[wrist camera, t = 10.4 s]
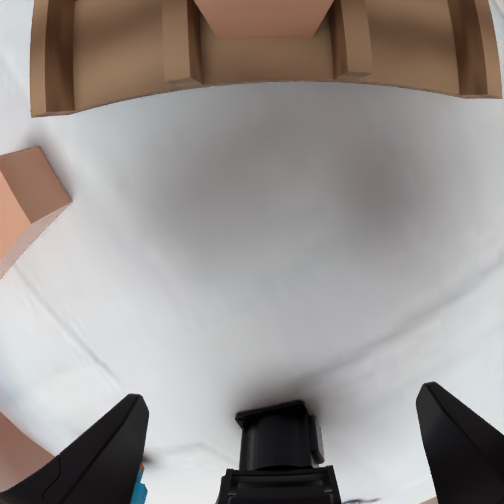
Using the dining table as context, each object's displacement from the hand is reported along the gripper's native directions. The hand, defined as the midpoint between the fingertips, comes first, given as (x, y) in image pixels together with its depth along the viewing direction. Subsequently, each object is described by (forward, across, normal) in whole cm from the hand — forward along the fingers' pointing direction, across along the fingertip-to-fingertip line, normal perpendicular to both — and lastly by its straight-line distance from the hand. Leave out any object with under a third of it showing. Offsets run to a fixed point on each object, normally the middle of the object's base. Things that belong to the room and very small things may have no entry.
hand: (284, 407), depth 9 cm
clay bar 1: (+12, +20, -3) cm, 24 cm away
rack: (+12, 0, -15) cm, 19 cm away
